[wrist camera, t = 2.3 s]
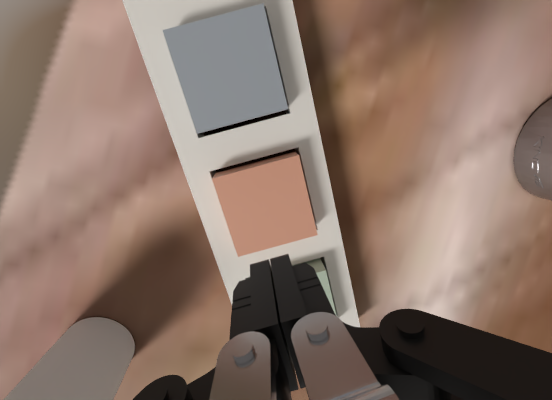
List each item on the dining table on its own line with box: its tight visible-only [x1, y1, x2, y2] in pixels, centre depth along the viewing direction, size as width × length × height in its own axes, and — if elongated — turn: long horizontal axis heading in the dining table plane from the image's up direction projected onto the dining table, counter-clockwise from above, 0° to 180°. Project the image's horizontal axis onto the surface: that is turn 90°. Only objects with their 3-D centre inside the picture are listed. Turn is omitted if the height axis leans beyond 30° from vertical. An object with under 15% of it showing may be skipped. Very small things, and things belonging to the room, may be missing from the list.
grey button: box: [163, 3, 288, 134], centre depth 18 cm, size 6×6×2 cm
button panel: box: [122, 0, 360, 327], centre depth 22 cm, size 10×30×2 cm, turn 14°
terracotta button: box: [212, 152, 318, 257], centre depth 21 cm, size 6×6×2 cm
